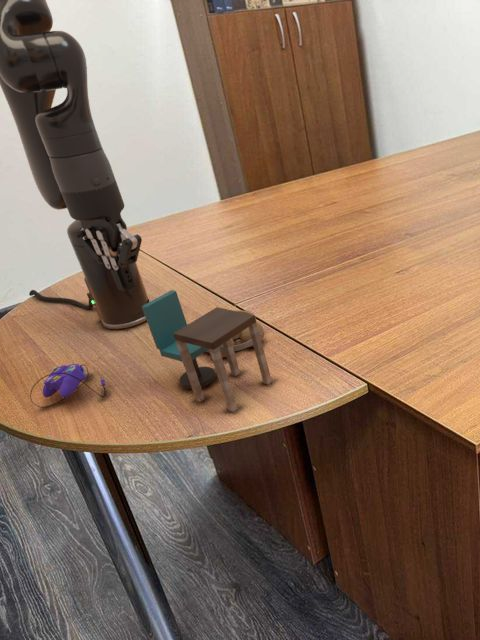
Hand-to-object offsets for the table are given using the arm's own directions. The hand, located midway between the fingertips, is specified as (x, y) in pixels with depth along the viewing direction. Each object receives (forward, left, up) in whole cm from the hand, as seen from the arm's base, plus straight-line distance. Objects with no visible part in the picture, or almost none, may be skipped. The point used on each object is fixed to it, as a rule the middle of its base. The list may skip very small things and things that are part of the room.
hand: (127, 288), depth 105 cm
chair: (+10, 0, -16) cm, 19 cm away
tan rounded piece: (+6, +12, -16) cm, 21 cm away
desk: (+18, 0, -16) cm, 24 cm away
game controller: (-6, -10, -16) cm, 20 cm away
